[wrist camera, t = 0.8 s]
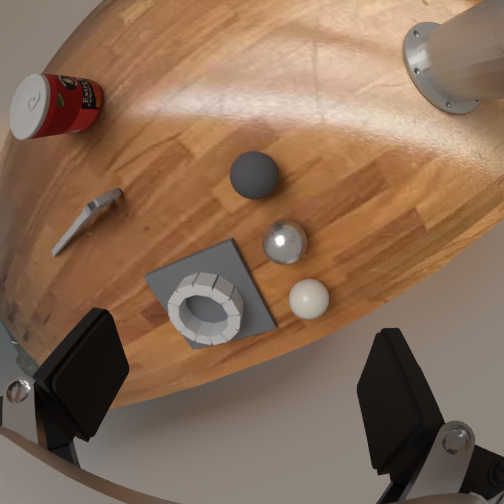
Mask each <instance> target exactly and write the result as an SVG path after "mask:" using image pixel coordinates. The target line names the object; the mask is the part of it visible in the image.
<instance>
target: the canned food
mask: <svg viewBox="0 0 504 504" xmlns="http://www.w3.org/2000/svg"><path fill="white" fill-rule="evenodd" d="M102 103H103V95H102V91H101V88H100V87H99V85H98V84H96V83H95V82H94V81H92V80H89V79H83V78H76V77H69V76H61V75H52V74H33V75H30V76H29V77H27V78H26V79H25V80H24V81H23V82H22V83H21V84H20V86H19V87H18V89H17V91H16V93H15V95H14V97H13V100H12V104H11V108H10V126H11V130H12V132H13V134H14V136H15V137H16V138H18V139H20V140H26V139H33V138H39V137H45V136H52V135H59V134H67V133H76V132H80V131H83V130H85V129H87V128H88V127H90V126H91V125H92V124H93V123H94V122H95V120H96V119H97V117H98V116H99V113H100V111H101V108H102Z"/></svg>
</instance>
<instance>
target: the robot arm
mask: <svg viewBox="0 0 504 504" xmlns="http://www.w3.org/2000/svg"><path fill="white" fill-rule="evenodd" d="M403 57H404V61H405V65H406V68H407V70H408V73H409V75H410V77H411V79H412V81H413V82H414V84H415V86H416V87H417V88H418V89H419V91H420V92H421V93H422V94H423V95H424V97H425V98H426V99H427V100H428V101H430V102H431V103H432V104H433V105H435V106H436V107H438V108H440V109H441V110H443V111H446V112H449V113H454V114H465V113H469V112H471V111H473V110H474V109H475V108H476V107H477V106H478V105H479V103H480V101H481V100H489V99H504V0H485V1H483V2H481V3H479V4H477V5H475V6H473V7H471V8H470V9H468V10H466V11H464V12H462V13H460V14H459V15H457V16H455V17H453V18H452V19H450V20H448V21H446V22H445V23H443V24H438V23H434V22H423V23H419V24H417V25H415V26H414V27H412V28H411V29H410V30H409V31H408V33H407V34H406V36H405V39H404V41H403ZM414 71H415V72H414ZM128 373H129V364H128V361H127V359H126V356H125V353H124V350H123V347H122V344H121V341H120V338H119V335H118V332H117V329H116V326H115V322H114V319H113V316H112V315H111V314H110V313H109V311H108V310H106V309H100V308H92V309H91V310H90V311H89V312H88V313H87V314H86V315H85V316H84V317H83V319H82V320H81V321H80V322H79V323H78V324H77V325H76V326H75V327H74V328H73V329H72V331H71V332H70V333H69V334H68V335H67V336H66V337H65V338H64V340H63V341H62V342H61V343H60V344H59V345H58V346H57V348H56V349H55V350H54V351H53V352H52V353H51V354H50V356H49V357H48V358H47V359H46V360H45V362H44V363H43V364H42V365H41V366H40V368H39V369H38V370H37V371H36V373H35V374H34V375H33V378H34V380H35V383H34V384H33V383H32V381H31V380H30V379H28V378H26V377H17V378H15V379H13V380H12V381H10V382H9V383H8V384H7V385H6V388H5V389H4V394H3V396H1V397H0V504H180V503H175V502H171V501H168V500H164V499H160V498H156V497H153V496H150V495H147V494H143V493H140V492H137V491H134V490H132V489H129V488H126V487H123V486H121V485H118V484H115V483H112V482H110V481H108V480H105V479H103V478H101V477H98V476H96V475H94V474H92V473H90V472H87V471H85V470H83V469H81V468H80V464H79V461H78V457H77V453H76V450H75V446H74V442H73V438H74V437H75V436H76V437H77V438H79V439H82V440H84V441H86V442H88V441H89V439H90V437H93V436H94V435H95V434H96V432H97V430H98V428H99V426H100V424H101V423H102V421H103V419H104V417H105V415H106V413H107V411H108V409H109V408H110V406H111V404H112V402H113V400H114V398H115V397H116V395H117V393H118V391H119V389H120V388H121V386H122V384H123V382H124V380H125V379H126V377H127V375H128ZM357 395H358V399H359V404H360V408H361V413H362V417H363V422H364V427H365V432H366V436H367V441H368V447H369V452H370V458H371V463H372V467H373V468H374V469H377V473H378V475H383V474H388V473H389V474H390V480H391V482H390V484H389V485H388V487H387V488H386V490H385V492H384V493H383V494H382V496H381V497H380V499H379V500H378V502H377V503H376V504H504V457H502V456H500V455H498V454H495V453H493V452H491V451H488V450H486V449H484V448H482V447H479V446H477V445H475V436H474V433H473V431H472V429H471V428H470V427H469V426H468V425H467V424H465V423H463V422H460V421H450V422H448V423H445V422H444V419H443V417H442V414H441V412H440V410H439V407H438V405H437V403H436V400H435V398H434V396H433V394H432V391H431V389H430V387H429V385H428V383H427V380H426V378H425V376H424V374H423V372H422V370H421V368H420V366H419V365H418V364H417V362H416V360H415V358H414V356H413V354H412V352H411V350H410V348H409V346H408V344H407V342H406V340H405V338H404V336H403V335H402V333H401V331H400V329H399V328H383V329H382V330H381V332H380V333H377V334H376V336H375V339H374V342H373V345H372V348H371V350H370V353H369V356H368V359H367V362H366V364H365V367H364V369H363V372H362V374H361V377H360V380H359V382H358V385H357Z"/></svg>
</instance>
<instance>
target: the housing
mask: <svg viewBox="0 0 504 504" xmlns="http://www.w3.org/2000/svg"><path fill="white" fill-rule="evenodd" d="M144 278H145V280H146V281H147V283H148V285H149V286H150V288H151V289H152V291H153V292H154V294H155V295H156V297H157V299H158V300H159V302H160V303H161V305H162V306H163V308H164V309H165V311H166V312H167V314H168V315H169V317H170V320H171V322H172V323H173V324H174V326H175V327H176V329H177V330H178V331H180V333H181V334H182V335H183V336H184V338H185V339H186V341H187V342H188V343H189V345H190V346H191V347H192V349H193V350H194V349H199V348H203V347H208V346H212V345H216V344H220V343H224V342H228V341H233V340H236V339H240V338H244V337H248V336H252V335H256V334H259V333H263V332H266V331H270V330H273V329H276V328H277V324H276V322H275V320H274V318H273V316H272V314H271V312H270V310H269V308H268V306H267V304H266V302H265V301H264V299H263V297H262V295H261V293H260V291H259V289H258V287H257V285H256V283H255V281H254V279H253V277H252V275H251V273H250V271H249V269H248V267H247V265H246V264H245V262H244V260H243V258H242V256H241V254H240V252H239V250H238V248H237V246H236V244H235V242H234V240H233V238H231V239H228V240H226V241H223V242H221V243H218V244H216V245H213V246H211V247H209V248H206V249H204V250H201V251H199V252H197V253H194V254H192V255H189V256H187V257H185V258H182V259H180V260H177V261H175V262H173V263H170V264H168V265H166V266H163V267H161V268H159V269H156V270H154V271H152V272H149V273H147V274H146V275H145V276H144Z"/></svg>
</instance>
